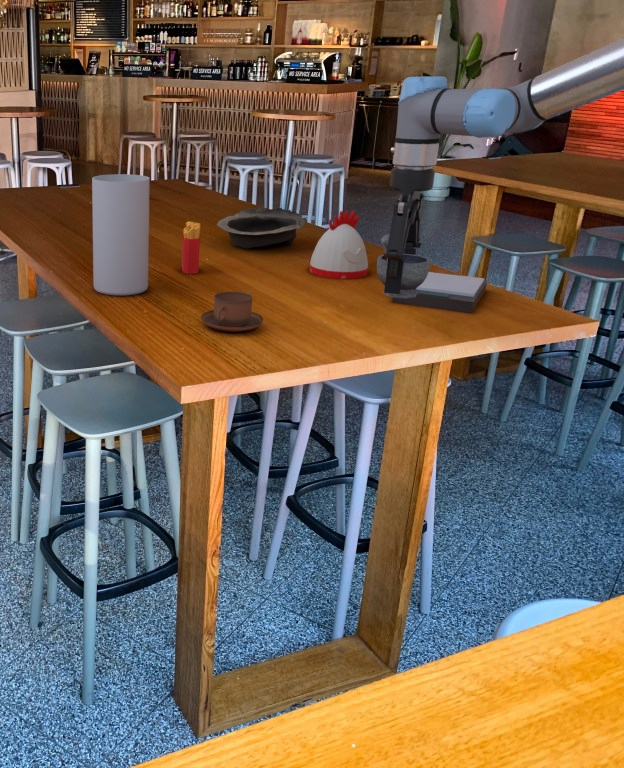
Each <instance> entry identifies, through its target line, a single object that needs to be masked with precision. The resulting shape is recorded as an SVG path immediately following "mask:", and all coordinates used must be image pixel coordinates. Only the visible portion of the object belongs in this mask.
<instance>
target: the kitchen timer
mask: <svg viewBox="0 0 624 768" xmlns="http://www.w3.org/2000/svg"><path fill="white" fill-rule="evenodd" d="M360 218H361V217H360V215H356V211H354V210H351V213H350V215H349V211H348V210H345V211H343V210H340V211H339V215H338V216H337V215H333V222H334V223H333V222H332V221H330V220H328V226H329V228H328V229H327V231H325V232H324V233H323V235H321V237H320V238H319V239H318V241H317V243H316V245H315V248H314V250H313V252H312V254H311V258H310V262H309V272H310V273H311V274H312V275H315V276H319V277H323V278H330V279H339V280H342V279H343V280H349V279H358V278H359V279H360V278H364V277H366V276H367V275H368V270H369V260H368V255H367V250H366V246H365V243H364V240H363V238H362V236H361V235H360V233H359V232H358V231H357V229H355V228H356V226H357V224H358V222H359V220H360Z"/></svg>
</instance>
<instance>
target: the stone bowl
mask: <svg viewBox="0 0 624 768" xmlns="http://www.w3.org/2000/svg"><path fill="white" fill-rule="evenodd" d="M307 218H308V216H306V217H303V214H301V213H298V212H296V211H293V210H291V209H283V208H282V207H277V208H275V209H274V208H273V209H272V208H258V207H256V208H245V209H240V211H239V212H236V213H235V214H234V215H228V216H226V217H224V218H223V219H220V220H219V221H217V223H216V226H217V227H219V228H220V229H222V230H223V231H225V232H227V235H228V236H229V238H230V241H231V242H232V244H233V246H234V247H239V248H242V249H246V250H250V249H252V248H260V247H267V246H271V245H274V244H275V245H277V244H282V245H286V246H289V245H292V244H293V243H294V240H295V239H296V238H297V229H301V228H303V227H305V225H306V221H307Z"/></svg>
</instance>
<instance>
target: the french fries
mask: <svg viewBox="0 0 624 768" xmlns="http://www.w3.org/2000/svg"><path fill="white" fill-rule="evenodd" d="M182 232H183V233H182V236H181V237H182V240H181V243H182V244H181V247H182V248H181V271H182V273H183V274H186V275H196V274H199V267H200V266H199V265H200V250H201V249H200V248H201V236H200V233H201V223H200V222H199V223H198V222H196V221H195V222H194V221H190V220H188V221H187V222H185V227H184V228H183V231H182Z"/></svg>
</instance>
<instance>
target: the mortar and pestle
mask: <svg viewBox="0 0 624 768" xmlns="http://www.w3.org/2000/svg"><path fill="white" fill-rule="evenodd" d="M389 235H390V233H387V234H385V235H383V236H382V237H381V238H380V243H381V245H382V246H383V250H384V254H386V252H387V246H388V241H389ZM394 251H397V250H394ZM384 254H379V255H378V257H377V258H376V259H377V260H376V275H377V277H378V279H379V281H380V283H382V285H383V286H385V281H386V273H387V264H388V258H384ZM403 259H404V265H403V273H402V281H401V289H400V294H392V293H384V289H385V287H384V288H383V291H382V294H383V295H384V296H387V297H390V298H393V297H395V298H412V297H416V292H417V289H416V288H417V287H418V286H420V285H421V284H422V283H423V282H424V280H425V279H426V278H427V275H428V272H430V267H431V261H432V259H431V258H429V257H426V256H424V255H418V254H416V255H411V254H403Z"/></svg>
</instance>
